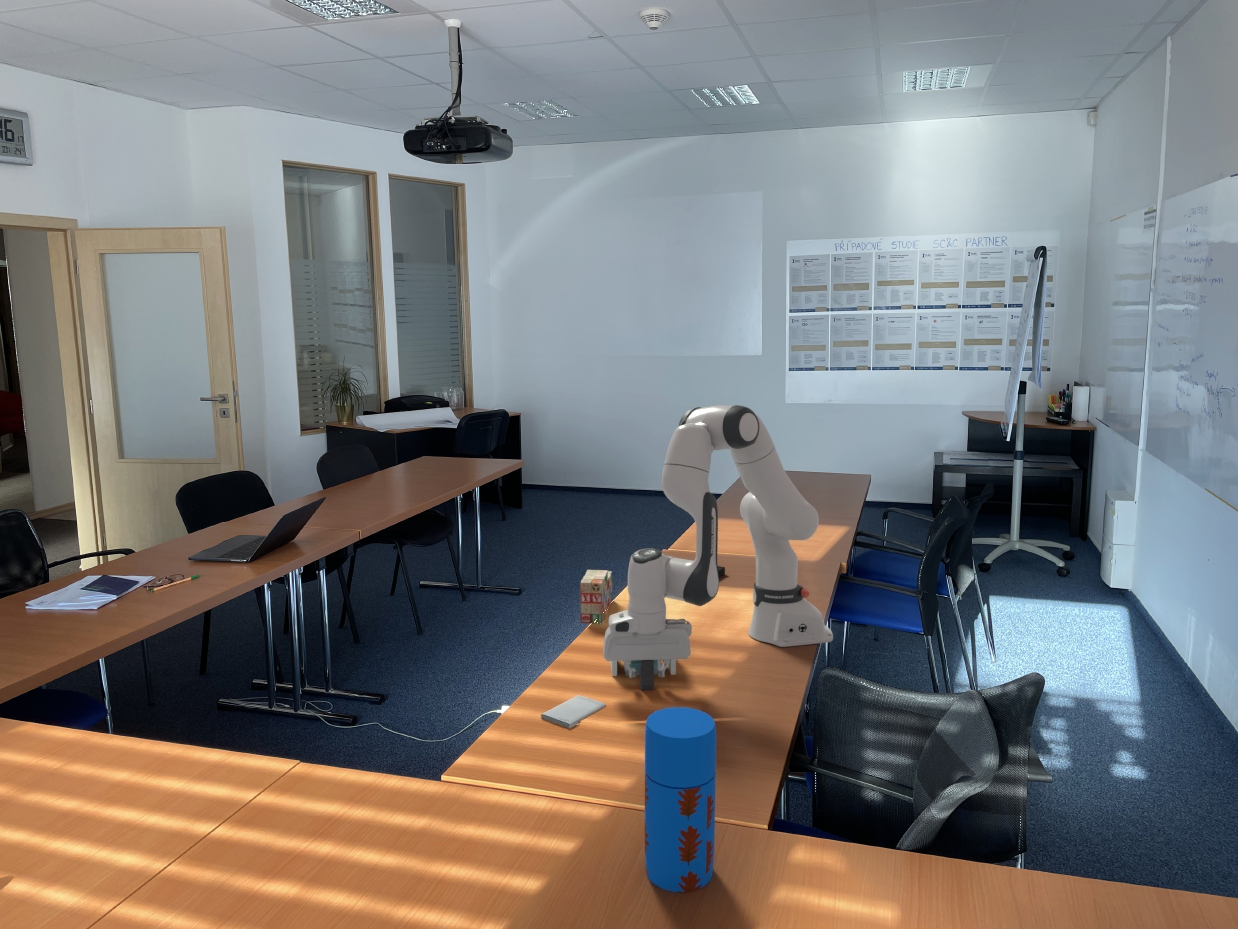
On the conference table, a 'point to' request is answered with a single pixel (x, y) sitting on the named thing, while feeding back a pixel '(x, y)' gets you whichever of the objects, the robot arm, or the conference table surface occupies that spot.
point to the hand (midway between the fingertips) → (646, 676)
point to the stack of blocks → (595, 595)
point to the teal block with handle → (645, 672)
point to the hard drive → (572, 711)
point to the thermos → (680, 798)
